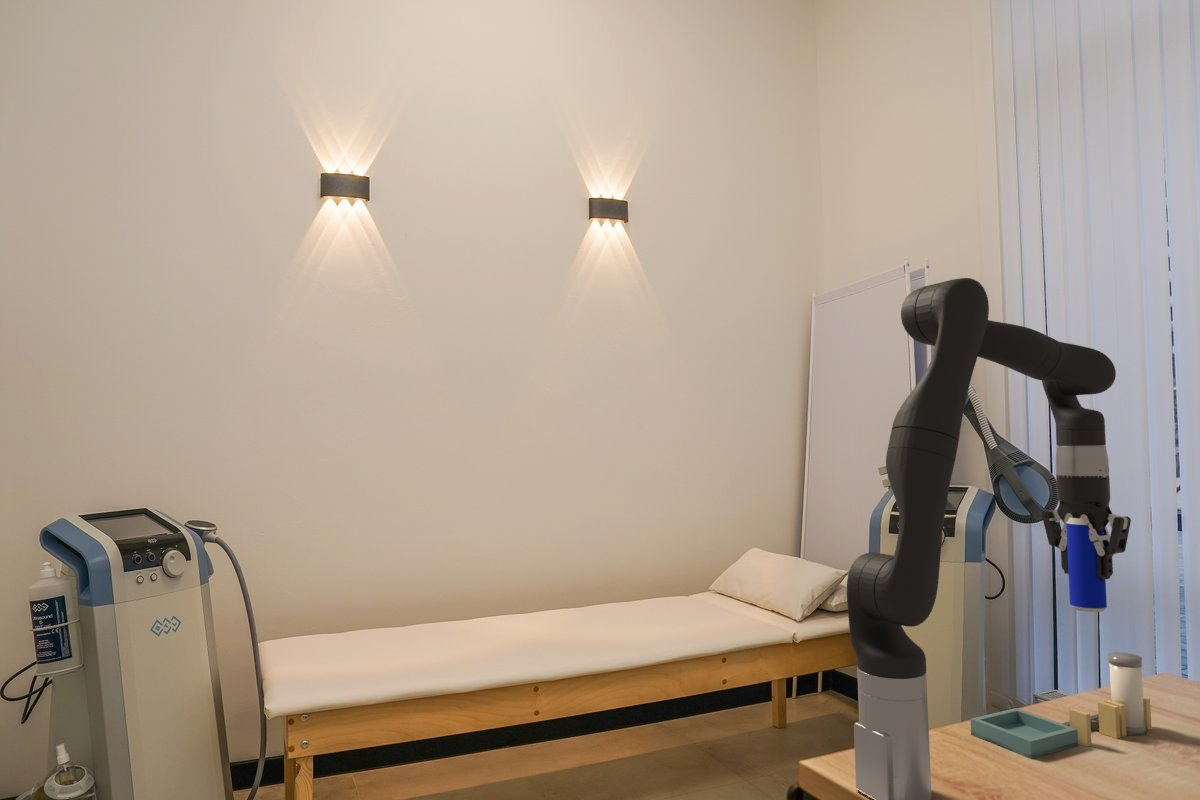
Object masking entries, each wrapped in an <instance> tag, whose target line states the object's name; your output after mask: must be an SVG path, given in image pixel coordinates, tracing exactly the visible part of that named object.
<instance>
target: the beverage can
mask: <svg viewBox="0 0 1200 800" xmlns="http://www.w3.org/2000/svg"><path fill="white" fill-rule="evenodd" d="M1066 529H1067V553H1068V574H1067V575H1068V590H1069V605H1070V606H1071V607H1072V609H1074V610H1076V611H1080V612H1086V613H1087V612H1090V613H1091V612H1092V613H1100V612H1101V613H1102V612H1104V611H1105V610H1106V609H1107V607H1108V603H1107V583H1106V581H1107V579H1105V580H1102V579H1098V577H1097V558H1096V556H1099V555H1098V553H1097V551H1096V548H1095V546H1094V543H1092V542H1091V541H1090V538H1089V530H1090V528H1089V525H1088V524H1086V523H1085V522H1084V520H1083V519H1081V518H1069V520H1068V521H1067V522H1066ZM1097 534H1098V535H1099V536H1103V531H1102V532H1101V531H1100V532H1097ZM1102 542H1103V541H1102Z"/></svg>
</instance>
